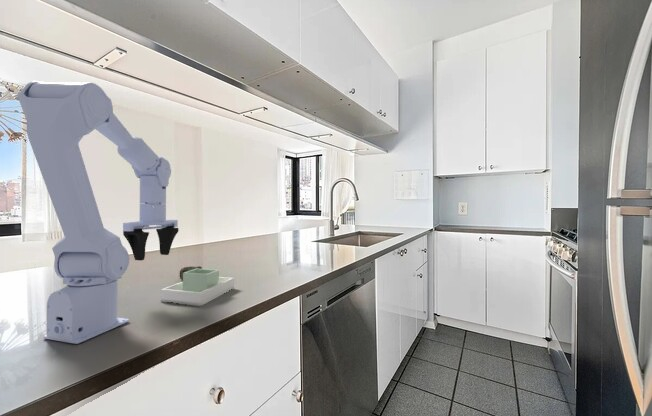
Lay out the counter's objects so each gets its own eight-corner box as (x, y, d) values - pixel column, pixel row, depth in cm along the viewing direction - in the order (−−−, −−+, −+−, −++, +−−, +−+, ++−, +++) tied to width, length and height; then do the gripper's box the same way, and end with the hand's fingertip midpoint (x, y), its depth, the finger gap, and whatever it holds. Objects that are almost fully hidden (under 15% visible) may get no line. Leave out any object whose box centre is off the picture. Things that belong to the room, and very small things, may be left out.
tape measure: (204, 281, 85) (204, 269, 85) (179, 284, 82) (179, 271, 82) (202, 276, 91) (203, 264, 91) (179, 278, 88) (179, 266, 88)
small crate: (206, 296, 69) (207, 274, 69) (182, 294, 70) (182, 272, 70) (218, 290, 74) (219, 270, 74) (196, 288, 75) (196, 268, 75)
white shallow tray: (200, 306, 64) (200, 293, 64) (160, 301, 66) (160, 289, 66) (234, 288, 77) (234, 277, 77) (200, 285, 80) (200, 275, 80)
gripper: (140, 204, 62) (140, 263, 63) (187, 204, 76) (186, 253, 77) (115, 203, 64) (115, 262, 64) (165, 204, 78) (165, 251, 78)
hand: (152, 257), depth 71 cm, fingers open, 7 cm apart
